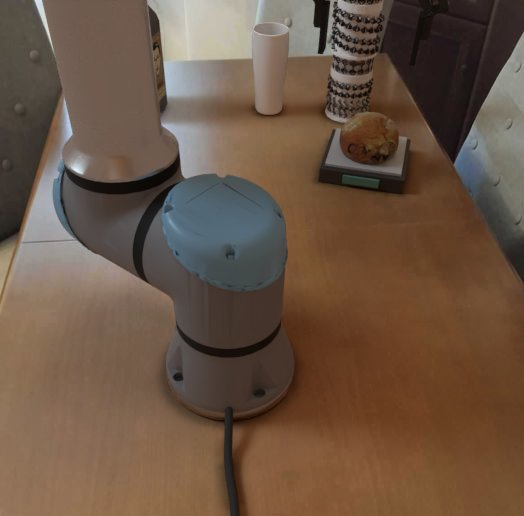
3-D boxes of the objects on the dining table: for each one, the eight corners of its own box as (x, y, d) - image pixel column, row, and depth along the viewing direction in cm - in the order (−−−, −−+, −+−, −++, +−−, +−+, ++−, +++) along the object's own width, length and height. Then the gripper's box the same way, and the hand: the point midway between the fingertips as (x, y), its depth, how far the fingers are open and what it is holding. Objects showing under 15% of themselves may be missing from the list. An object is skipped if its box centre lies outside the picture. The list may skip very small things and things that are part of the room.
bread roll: (392, 161, 107) (398, 113, 104) (399, 167, 97) (407, 114, 94) (336, 157, 107) (341, 109, 104) (338, 162, 98) (344, 109, 95)
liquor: (109, 117, 115) (76, -70, 93) (129, 96, 121) (103, -83, 99) (152, 124, 113) (130, -64, 91) (171, 103, 119) (154, -78, 97)
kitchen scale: (401, 195, 98) (405, 179, 96) (317, 183, 100) (319, 166, 98) (408, 152, 108) (411, 136, 106) (331, 141, 110) (333, 126, 108)
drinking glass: (246, 105, 119) (245, 24, 108) (276, 99, 121) (279, 19, 110) (260, 120, 115) (261, 37, 104) (291, 114, 117) (296, 32, 106)
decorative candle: (314, 106, 119) (327, -38, 101) (355, 99, 122) (374, -43, 103) (336, 127, 114) (353, -22, 95) (378, 119, 116) (402, -28, 98)
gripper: (496, -121, 74) (452, 57, 90) (300, -136, 78) (290, 37, 93) (498, -110, 69) (450, 77, 85) (288, -127, 73) (279, 55, 88)
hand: (366, 56), depth 89 cm, fingers open, 13 cm apart
